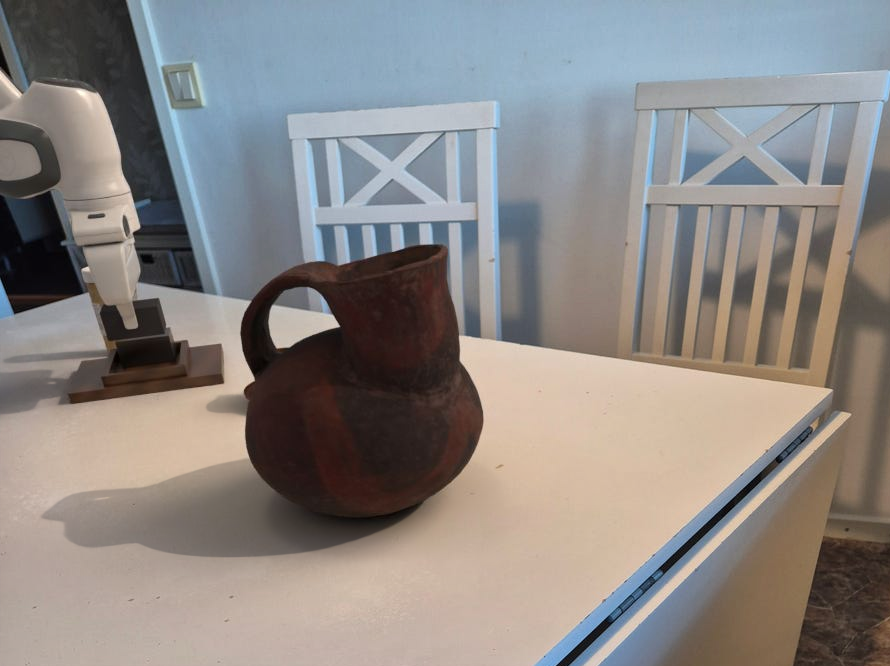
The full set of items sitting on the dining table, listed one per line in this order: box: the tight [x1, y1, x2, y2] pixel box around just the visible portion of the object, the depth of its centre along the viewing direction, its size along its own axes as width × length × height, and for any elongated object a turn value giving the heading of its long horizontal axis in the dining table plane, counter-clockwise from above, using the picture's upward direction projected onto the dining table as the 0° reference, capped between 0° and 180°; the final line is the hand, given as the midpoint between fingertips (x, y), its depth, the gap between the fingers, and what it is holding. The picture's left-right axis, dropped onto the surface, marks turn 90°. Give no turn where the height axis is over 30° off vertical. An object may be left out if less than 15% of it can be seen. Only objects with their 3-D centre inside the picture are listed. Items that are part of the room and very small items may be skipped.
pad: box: [100, 297, 167, 341], centre depth 123 cm, size 8×5×4 cm, turn 105°
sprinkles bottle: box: [80, 266, 117, 355], centre depth 138 cm, size 5×5×14 cm
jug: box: [239, 243, 485, 518], centre depth 86 cm, size 25×25×25 cm
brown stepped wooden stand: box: [67, 326, 225, 405], centre depth 129 cm, size 22×16×6 cm
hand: (134, 322), depth 123 cm, fingers closed on pad, 5 cm apart
